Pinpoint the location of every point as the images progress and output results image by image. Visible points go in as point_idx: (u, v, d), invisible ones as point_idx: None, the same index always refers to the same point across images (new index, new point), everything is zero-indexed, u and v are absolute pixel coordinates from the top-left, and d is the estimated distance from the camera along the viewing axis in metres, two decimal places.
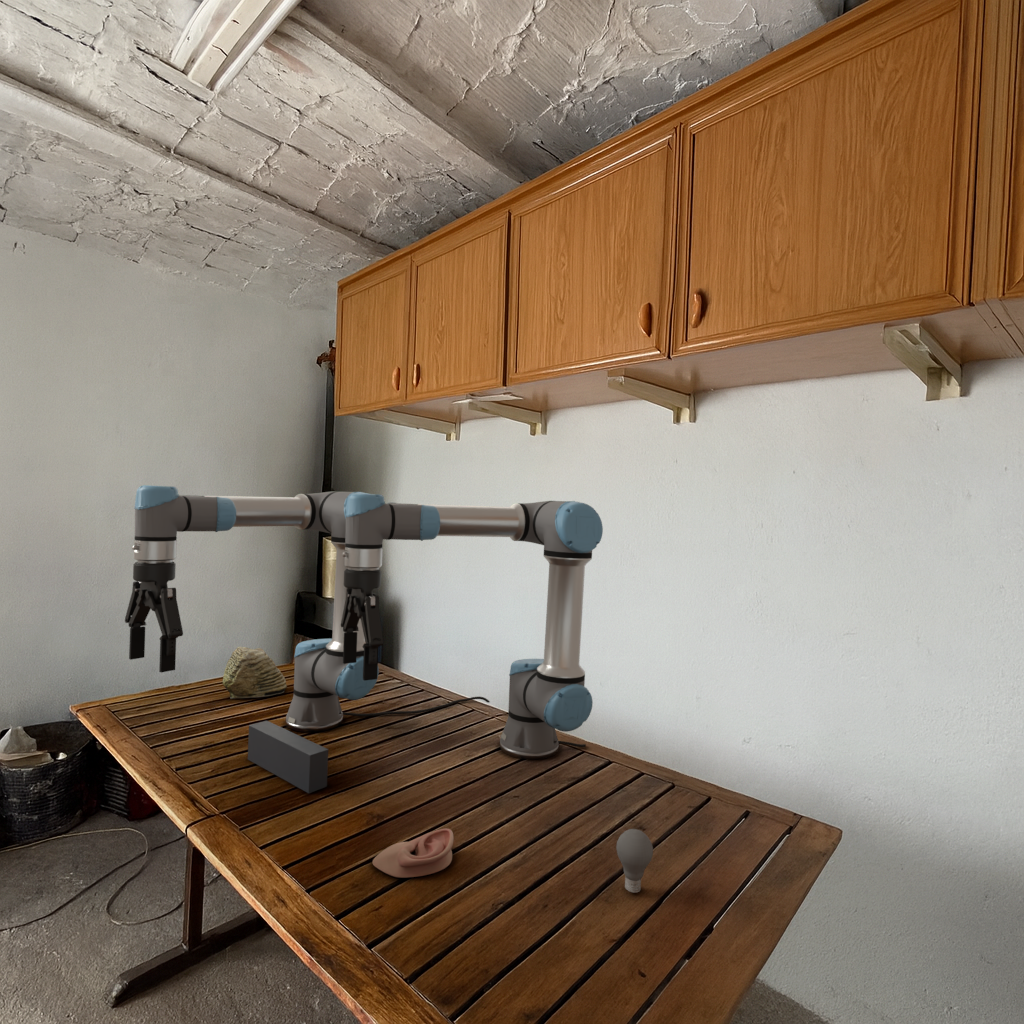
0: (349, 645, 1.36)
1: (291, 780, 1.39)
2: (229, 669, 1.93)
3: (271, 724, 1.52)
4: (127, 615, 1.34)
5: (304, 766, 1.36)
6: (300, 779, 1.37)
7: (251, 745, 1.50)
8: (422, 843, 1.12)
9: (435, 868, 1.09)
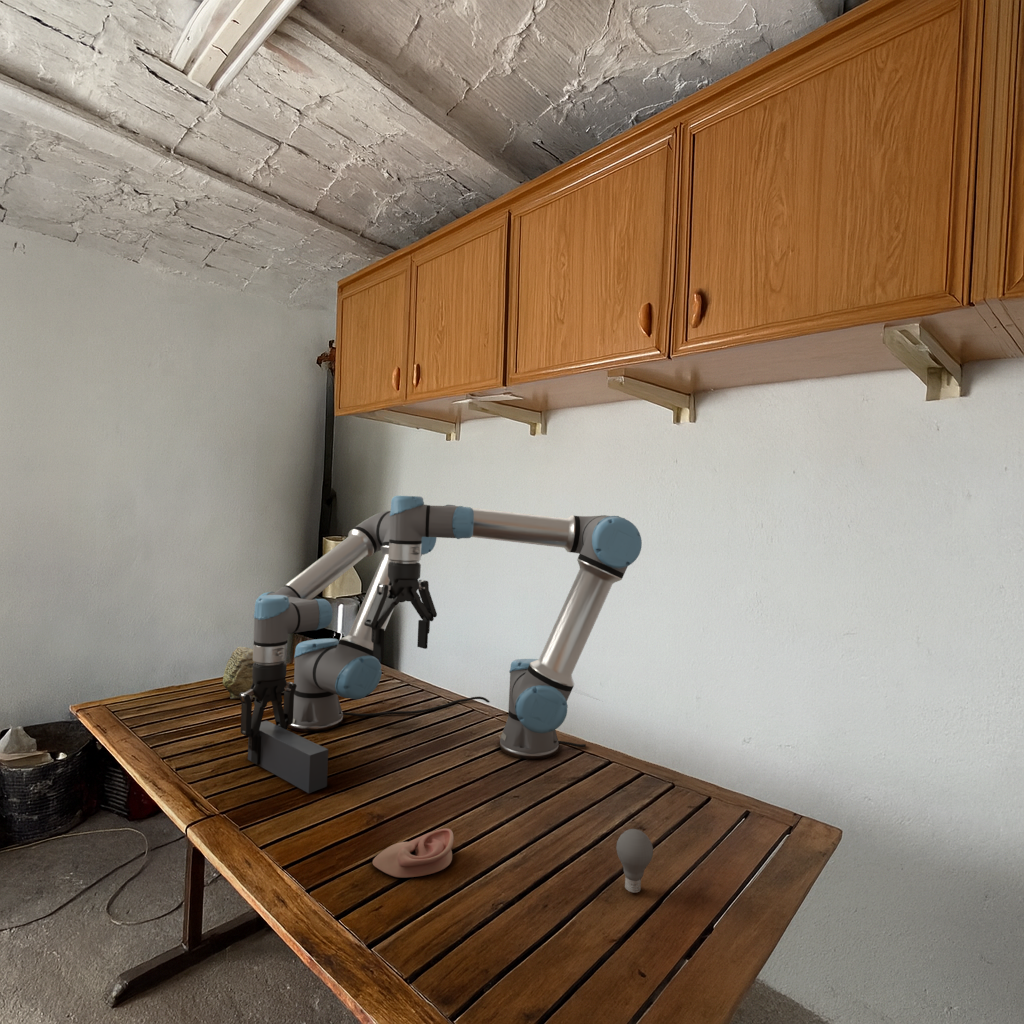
0: None
1: (291, 780, 1.39)
2: (229, 669, 1.93)
3: (271, 724, 1.52)
4: (248, 728, 1.45)
5: (304, 766, 1.36)
6: (300, 779, 1.37)
7: None
8: (422, 843, 1.12)
9: (435, 868, 1.09)
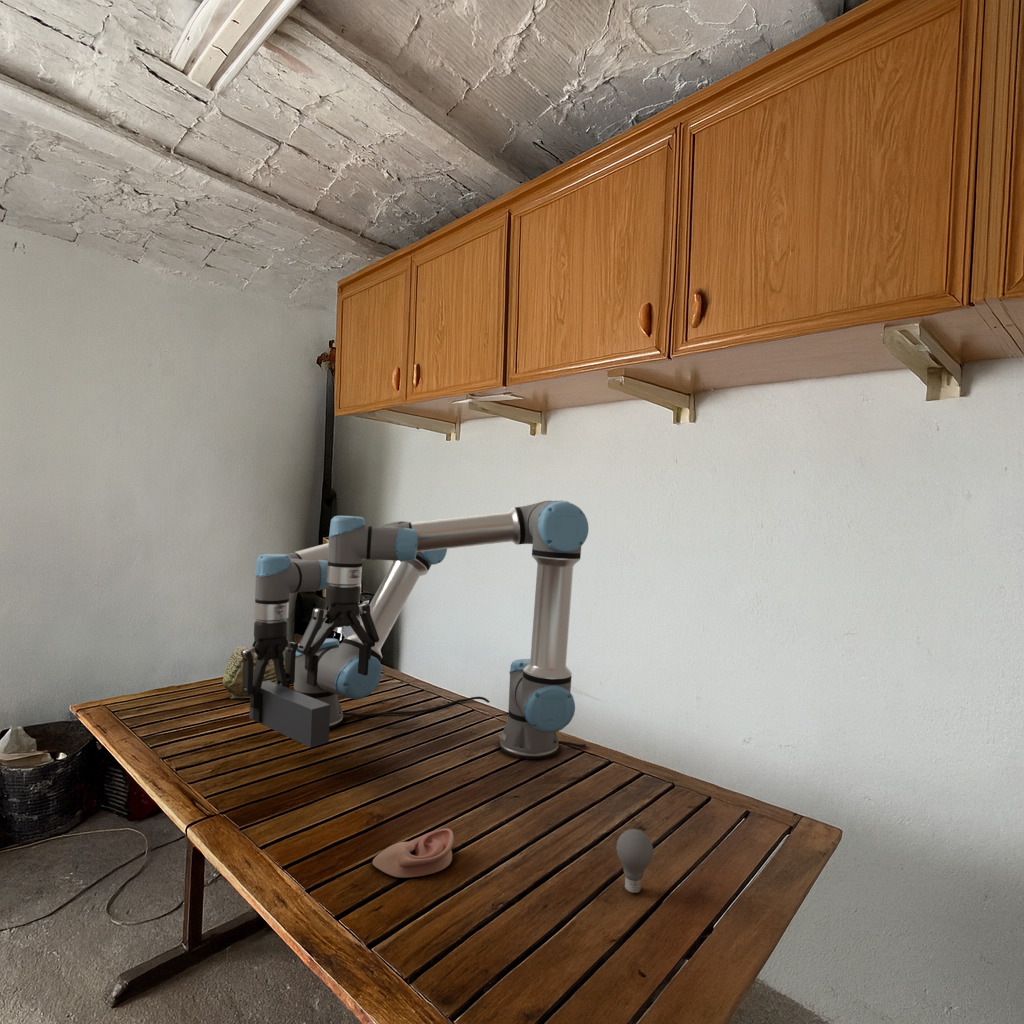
0: None
1: (293, 735, 1.39)
2: (229, 669, 1.93)
3: (273, 683, 1.51)
4: (250, 686, 1.44)
5: (306, 720, 1.36)
6: (302, 734, 1.37)
7: None
8: (422, 843, 1.12)
9: (435, 868, 1.09)
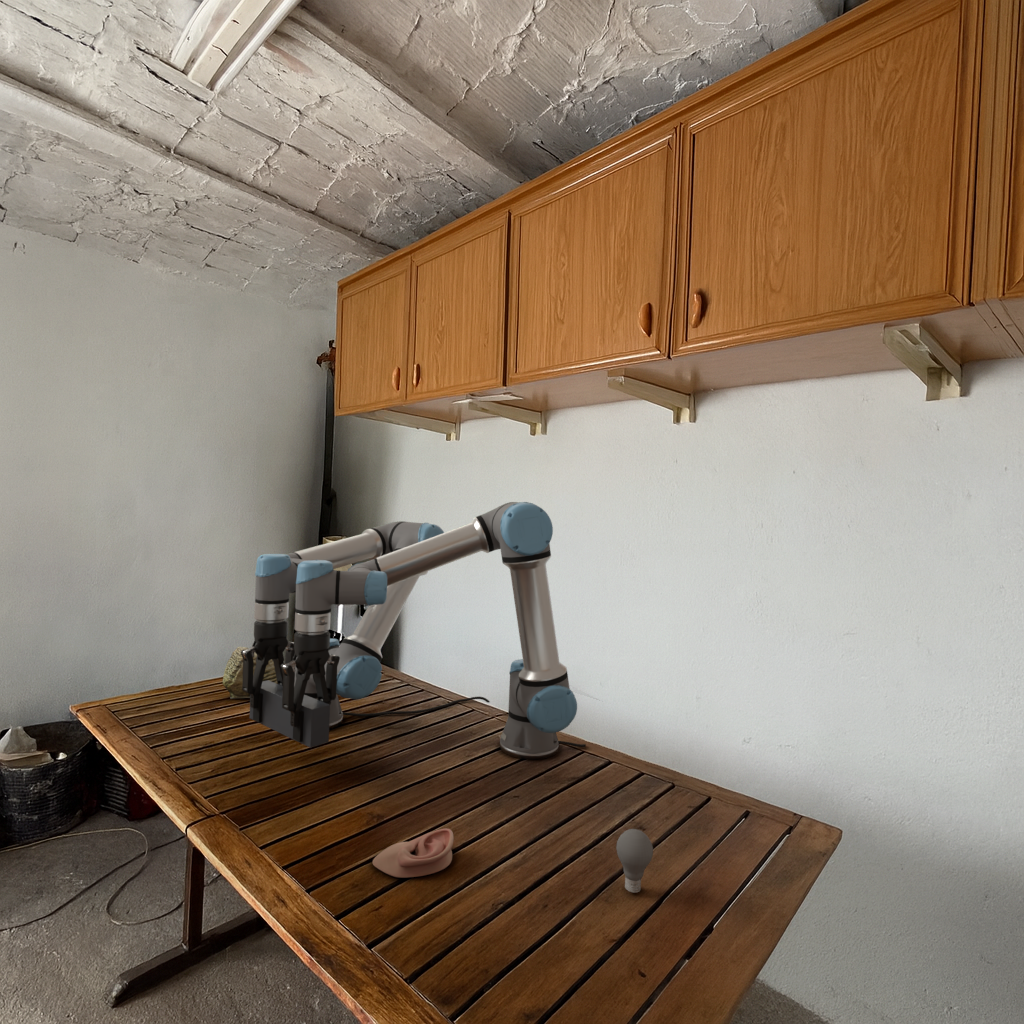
0: None
1: (292, 735, 1.39)
2: (229, 669, 1.93)
3: (273, 683, 1.51)
4: (250, 685, 1.44)
5: (306, 721, 1.36)
6: None
7: None
8: (422, 843, 1.12)
9: (435, 868, 1.09)
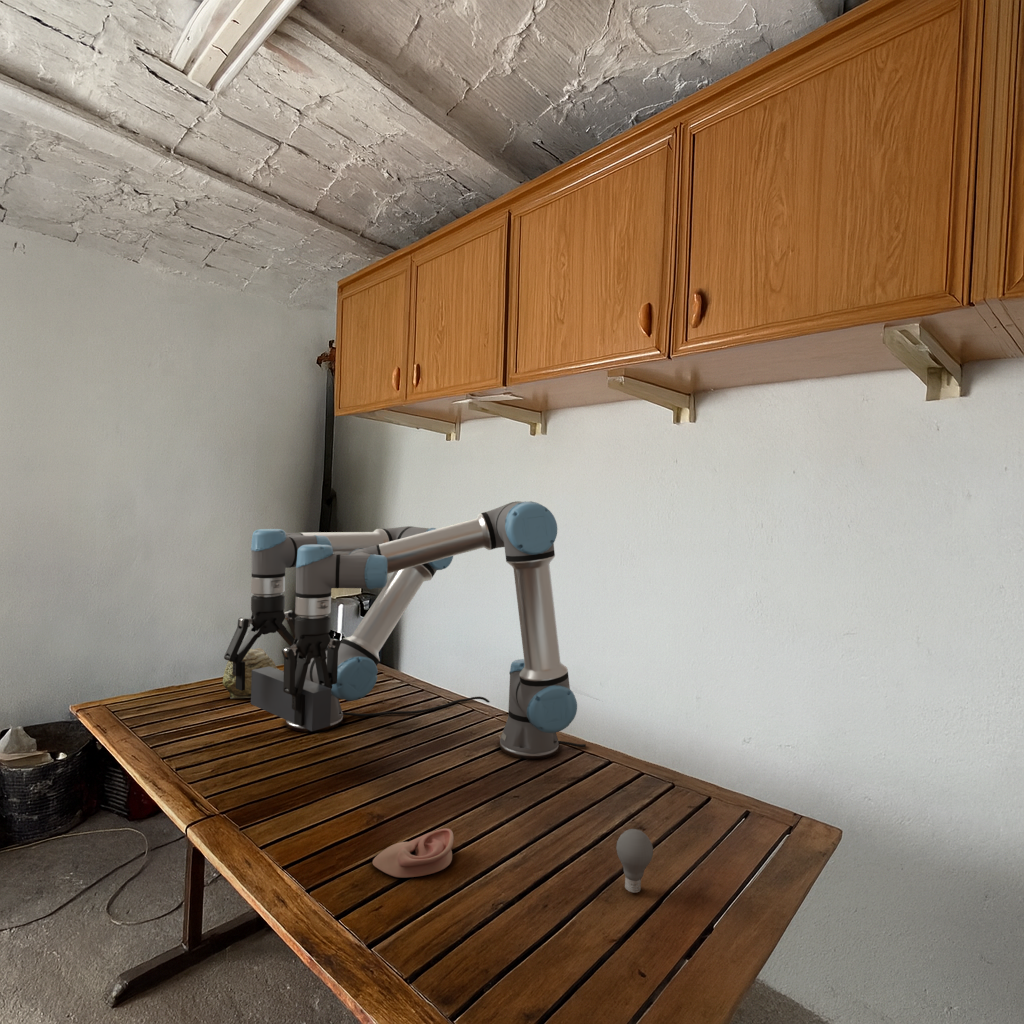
0: None
1: None
2: (229, 669, 1.93)
3: (274, 669, 1.51)
4: (234, 653, 1.43)
5: (307, 704, 1.36)
6: None
7: (254, 689, 1.49)
8: (422, 843, 1.12)
9: (435, 868, 1.09)
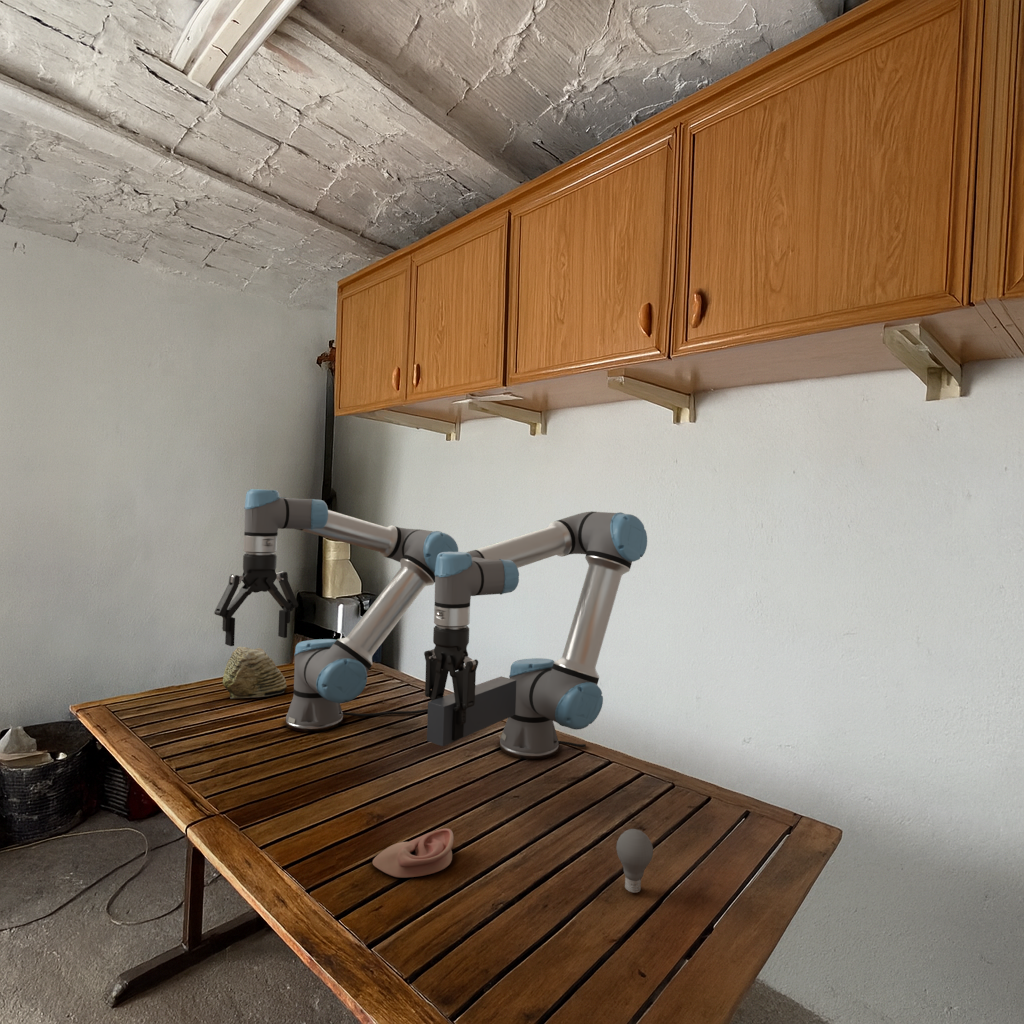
0: None
1: None
2: (229, 669, 1.93)
3: (506, 682, 1.47)
4: (224, 608, 1.45)
5: None
6: None
7: None
8: (422, 843, 1.12)
9: (435, 868, 1.09)
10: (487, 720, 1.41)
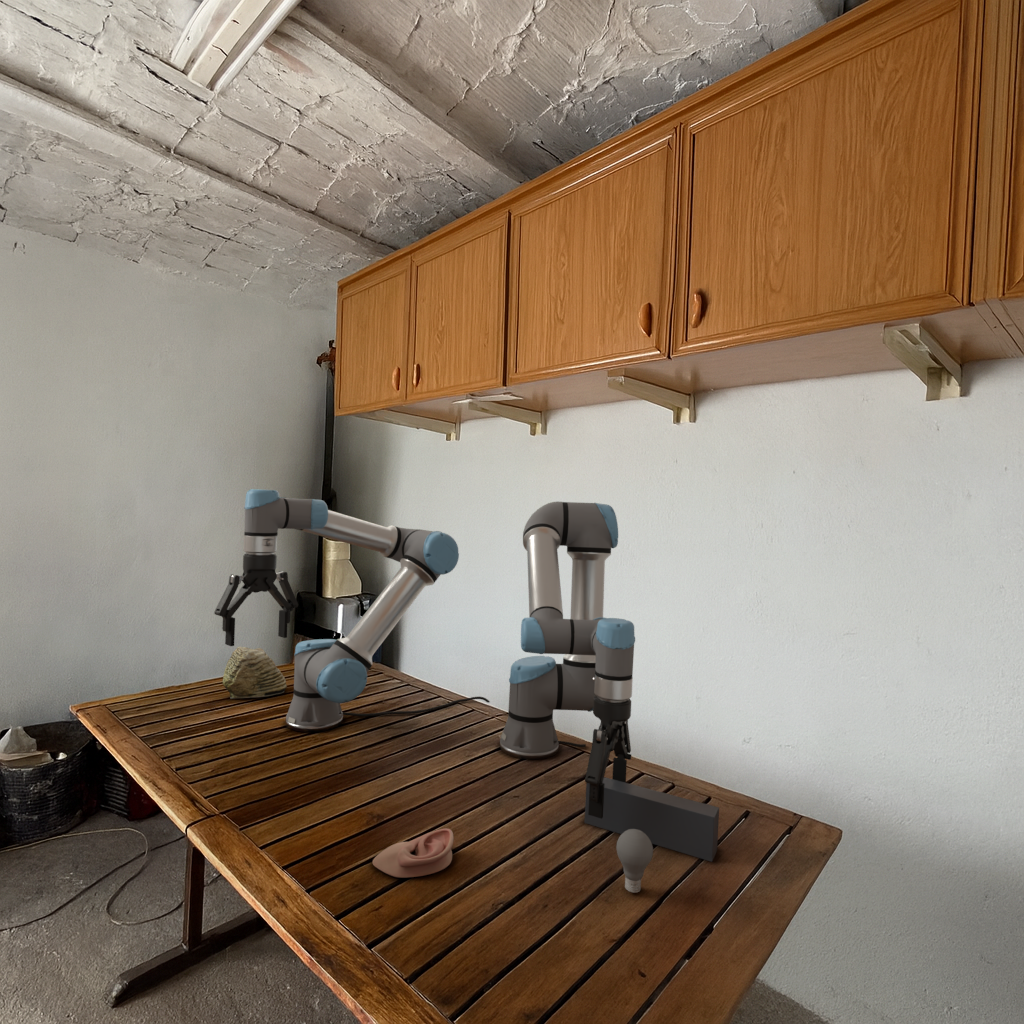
0: (617, 772, 1.33)
1: None
2: (229, 669, 1.93)
3: (697, 811, 1.18)
4: (224, 608, 1.45)
5: None
6: None
7: None
8: (422, 843, 1.12)
9: (435, 868, 1.09)
10: (654, 836, 1.21)
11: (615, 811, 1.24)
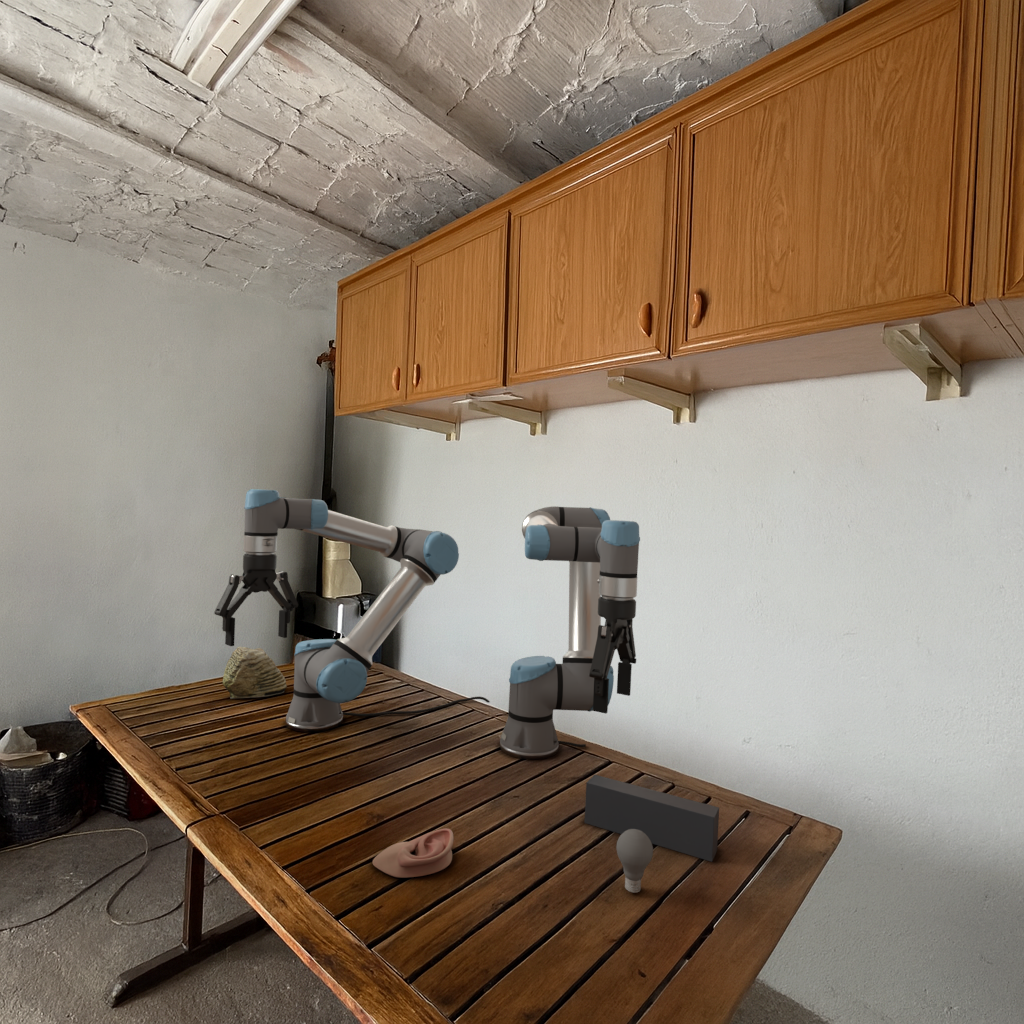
0: (622, 676, 1.33)
1: None
2: (229, 669, 1.93)
3: (697, 811, 1.18)
4: (224, 608, 1.45)
5: None
6: None
7: None
8: (422, 843, 1.12)
9: (435, 868, 1.09)
10: (654, 836, 1.21)
11: (615, 811, 1.24)
